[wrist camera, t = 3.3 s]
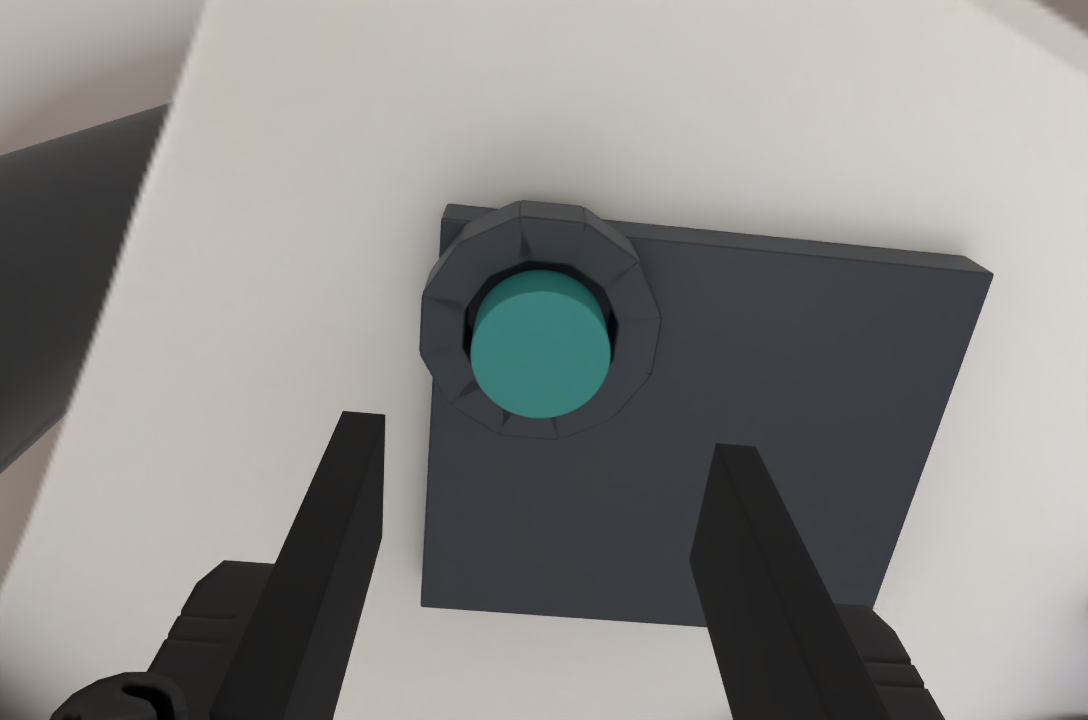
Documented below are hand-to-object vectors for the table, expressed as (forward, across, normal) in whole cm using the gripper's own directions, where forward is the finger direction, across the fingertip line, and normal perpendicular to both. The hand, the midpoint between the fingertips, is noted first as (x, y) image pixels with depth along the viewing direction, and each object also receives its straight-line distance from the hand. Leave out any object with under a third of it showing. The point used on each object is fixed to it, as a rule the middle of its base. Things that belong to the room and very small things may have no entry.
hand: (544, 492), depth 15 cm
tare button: (+8, 0, 0) cm, 8 cm away
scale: (+11, +5, -4) cm, 13 cm away
